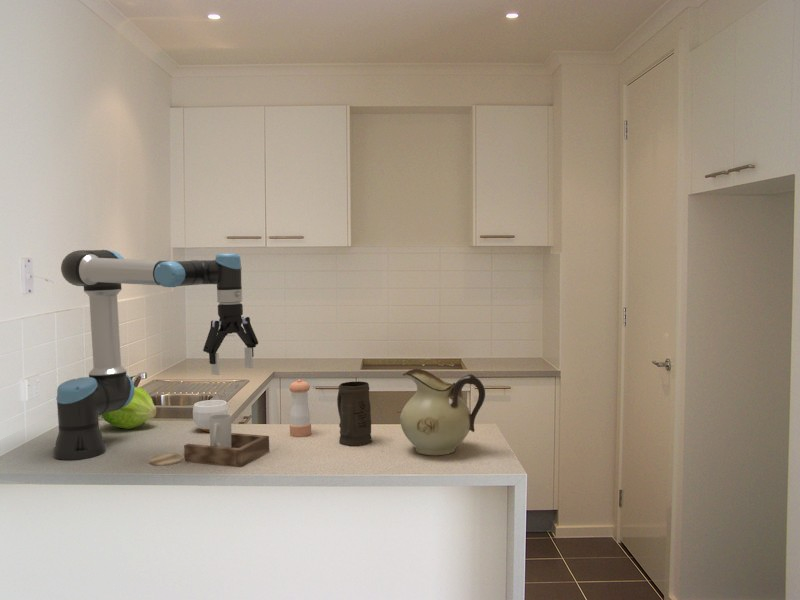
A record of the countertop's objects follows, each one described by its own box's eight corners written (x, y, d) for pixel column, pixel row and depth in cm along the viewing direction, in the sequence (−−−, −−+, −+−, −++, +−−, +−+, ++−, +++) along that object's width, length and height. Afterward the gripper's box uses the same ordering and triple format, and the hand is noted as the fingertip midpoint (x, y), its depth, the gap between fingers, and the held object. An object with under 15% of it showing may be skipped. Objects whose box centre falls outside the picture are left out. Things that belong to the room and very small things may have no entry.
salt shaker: (297, 438, 237) (296, 382, 236) (286, 434, 242) (284, 379, 241) (315, 434, 242) (314, 379, 240) (303, 430, 247) (302, 376, 246)
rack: (184, 461, 212) (184, 445, 212) (215, 446, 228) (215, 431, 227) (241, 466, 206) (241, 450, 205) (269, 451, 222) (268, 435, 221)
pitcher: (389, 445, 226) (388, 369, 224) (454, 437, 235) (453, 363, 233) (418, 464, 205) (417, 380, 204) (488, 454, 215) (487, 374, 213)
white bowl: (236, 427, 253) (235, 401, 252) (212, 435, 242) (211, 408, 241) (210, 424, 258) (209, 398, 258) (185, 432, 247) (184, 405, 247)
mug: (213, 451, 223) (212, 414, 222) (234, 450, 223) (233, 413, 222) (204, 460, 213) (202, 421, 212) (226, 460, 213) (224, 421, 212)
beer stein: (380, 441, 231) (376, 381, 231) (356, 448, 223) (352, 386, 223) (348, 436, 241) (344, 379, 241) (325, 443, 234) (321, 383, 233)
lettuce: (137, 440, 245) (135, 400, 242) (91, 430, 252) (89, 391, 249) (167, 424, 261) (166, 385, 257) (124, 415, 267) (122, 377, 264)
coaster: (142, 463, 210) (142, 462, 210) (163, 454, 220) (163, 452, 220) (170, 466, 207) (170, 464, 207) (190, 457, 216) (190, 455, 216)
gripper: (205, 306, 204) (208, 378, 205) (267, 300, 224) (270, 366, 225) (189, 305, 208) (192, 376, 209) (251, 300, 228) (253, 364, 230)
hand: (232, 371), depth 217 cm, fingers open, 13 cm apart
